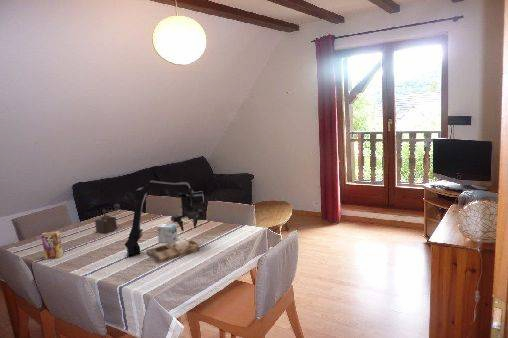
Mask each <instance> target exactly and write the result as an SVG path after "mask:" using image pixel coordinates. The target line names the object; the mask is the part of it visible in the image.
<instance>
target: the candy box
mask: <svg viewBox="0 0 508 338" xmlns="http://www.w3.org/2000/svg"><path fill="white" fill-rule="evenodd" d="M40 236H41V243H42V247H43V253H44V258H45V260H50V259H60V258H61V257H63V256H64V253H63V252H64V251H63V247H62V246H63V245H62V239H61V234H60V231H50V232H49V231H48V232H47V231H46V232H43V233H41V235H40Z"/></svg>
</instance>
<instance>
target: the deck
mask: <svg viewBox="0 0 508 338" xmlns="http://www.w3.org/2000/svg"><path fill="white" fill-rule="evenodd" d="M181 240H182V239H181ZM181 240H179V241H181ZM183 240H186V241H188V240H189V239H187V238H185V239H184V238H183ZM175 242H176V241H175ZM175 242H173V243H165V244H162V245H160V246H156V247H152V248H149V249H145V250H146V251H145V252H146V254H147V255H148V257H150V258H152V260H153V261H155V263H157V264H161V263H164V262H167V261H170V260H173V259H177V258H180V257H183V256H187V255H189V254H193V253H197V252H200V247H199V246H198V248H194V249H191V250H188V251H184V252H181V253H180V251H178V250H177V249H176V248H173V244H175ZM191 245H193V244H189V246H191Z"/></svg>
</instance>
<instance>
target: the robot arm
mask: <svg viewBox="0 0 508 338" xmlns="http://www.w3.org/2000/svg"><path fill="white" fill-rule="evenodd" d="M190 185H191V184H190V183H189V182H188V181H187V182H186V181H181V182H167V181H160V180H159V181H158V180H154V179H153V180H150V181H149V182H148V183H147V184H146V185H145V186H143V187H138V188H137V189H136V190H135V191H134V193H133V197H134V199H133V200H134V203H135V206H134V212H133V213H134V214H133V219H132V227H131V229H130V232H129V235H128V238H127V240H126V242H125V243H124V246H125V248H126V256H127V257H129V258H131V257H135V256H139V255H141V248H140V245H139V243H138V242H139V241H140V239H141V238H142V237H143V229H144V228H143V229H141V220H142V213H143V205H144V202H145V200H146V197H147V194H148V193H149V192H150V191H151V190H152V189H156V190H157V189H158V190H166V191H167V190H168V191H173V192H176V193H178V195H177V196H176V198H177V199H178V198H179V199H180V208H181V212H180V215H179V214H174V215H171V217H170V221H171V222H173V223H176V224H178V225H179V227H180V230H181V231H182V232H184V231H185V230H184V229H185V228H184V224H183V222H184V221H183V220H182V219H186V218H188V220H190V221H191V220H192V222H193V228H194V229H196V228H197V223H198V221H199V219H200V218H202V216H203V217H204V216H205V212H204V211H203V210H202V209H199V208H195V209H194V207H193V205H192V203H193V204H204V203H205V196H204V193H203V190H200V191H194V189H192V187H191V186H190Z"/></svg>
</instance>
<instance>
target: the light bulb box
mask: <svg viewBox="0 0 508 338" xmlns="http://www.w3.org/2000/svg"><path fill="white" fill-rule="evenodd" d="M156 230H157V239H158V243H162V244H163V243H164V244H170V243H173V242H177V241H179V238H178V237H179V236H178V228H177V223H160V224H159V225H157V226H156Z"/></svg>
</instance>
